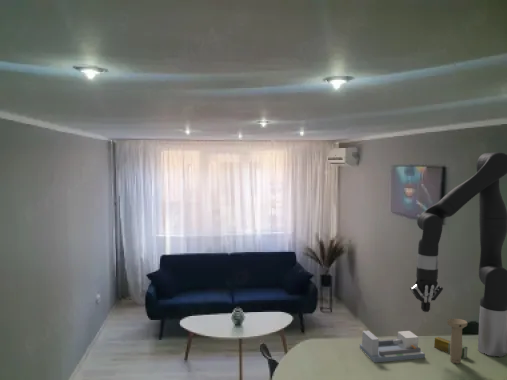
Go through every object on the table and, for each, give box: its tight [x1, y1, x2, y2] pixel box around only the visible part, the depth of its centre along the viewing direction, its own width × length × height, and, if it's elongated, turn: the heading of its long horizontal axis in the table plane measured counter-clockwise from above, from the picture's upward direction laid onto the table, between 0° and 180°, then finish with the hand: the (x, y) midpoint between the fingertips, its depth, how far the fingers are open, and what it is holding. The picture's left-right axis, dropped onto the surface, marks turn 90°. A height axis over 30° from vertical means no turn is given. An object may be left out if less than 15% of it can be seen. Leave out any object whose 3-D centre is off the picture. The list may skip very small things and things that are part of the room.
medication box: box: [434, 336, 469, 360], centre depth 165 cm, size 12×3×4 cm, turn 36°
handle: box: [446, 318, 468, 364], centre depth 157 cm, size 5×6×15 cm
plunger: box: [393, 330, 419, 349], centre depth 164 cm, size 8×8×5 cm
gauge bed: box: [359, 330, 426, 363], centre depth 164 cm, size 20×12×8 cm, turn 101°
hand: (425, 311), depth 166 cm, fingers closed
